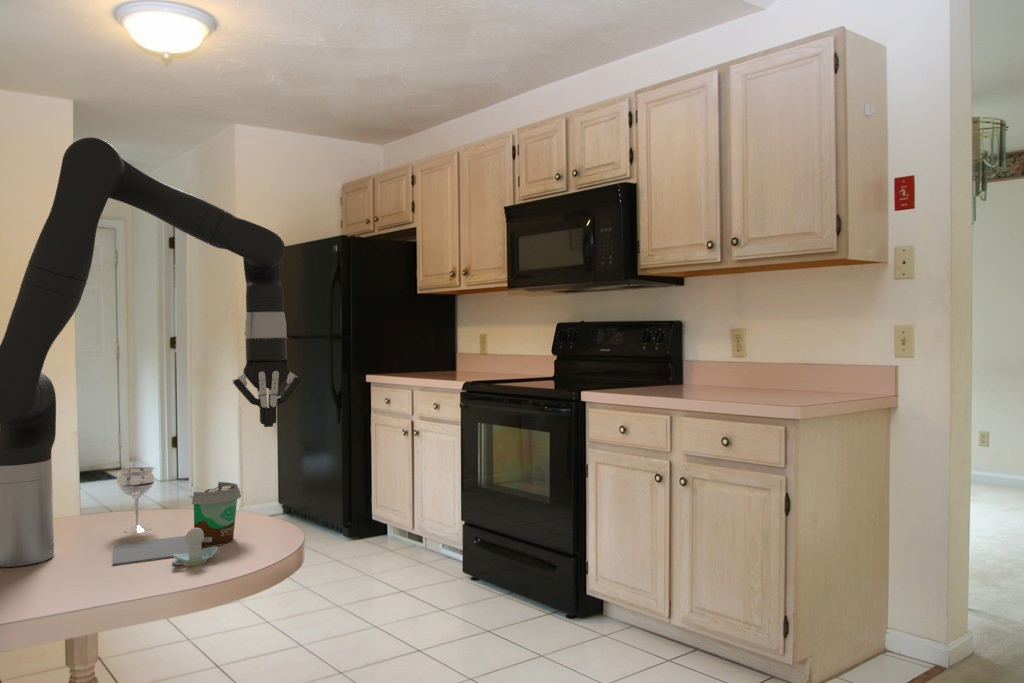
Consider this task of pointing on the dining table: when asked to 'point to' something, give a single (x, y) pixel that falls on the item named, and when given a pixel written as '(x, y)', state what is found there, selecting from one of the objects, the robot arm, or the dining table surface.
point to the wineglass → (136, 488)
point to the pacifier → (194, 550)
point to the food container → (216, 513)
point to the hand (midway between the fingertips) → (268, 426)
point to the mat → (149, 550)
